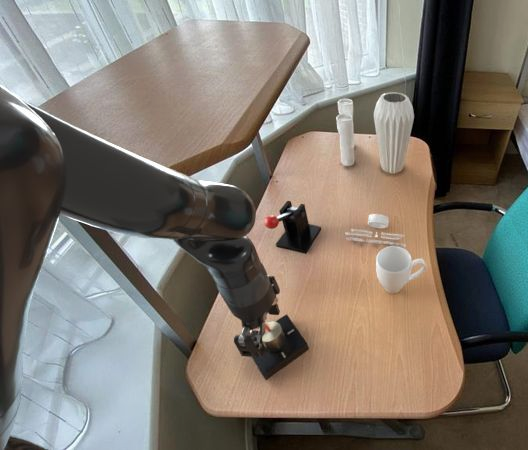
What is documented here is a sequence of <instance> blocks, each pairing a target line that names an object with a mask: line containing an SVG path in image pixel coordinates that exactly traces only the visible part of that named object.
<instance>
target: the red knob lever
mask: <svg viewBox="0 0 528 450" xmlns="http://www.w3.org/2000/svg"><path fill="white" fill-rule="evenodd" d="M297 209H298V207H296V206H293V205H292V207H290V208H288V209H287V213H284V214H282V215H280V214H279V215H277V216H275V215H267V216H266V217H265V219H264V220H263V221H264V223H263V224H264V226H265V227H266V228H267V229H270V230H273V229H276V228H277V227H278V226H279V223H281V222H282V220H285V219H287V218H293V219H294V215H293V214H294V213H295V211H296V210H297Z"/></svg>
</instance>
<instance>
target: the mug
mask: <svg viewBox="0 0 528 450" xmlns="http://www.w3.org/2000/svg"><path fill="white" fill-rule="evenodd" d="M417 265H422V266H421V268H419V269H418V270H416V271H415V272H413V273H412V269H413V268H414V267H415V266H417ZM426 265H427V264H426V262H425V260H424V259H423V258H415V259H413V260H412V256H411V254H410V252H409V251H408V250H407V249H406V248H405V247H403V246H398V245H393V246H392V245H389V246H386V247H383V248H382V249H381V250H379V251H378V253H377V254H376V258H375V271H376V277H377V280H378V282H379V283H380V285H381V286H382V288H383V289H384V290H385V292H386V293H387V294H390V295H391V294H392V295H394V294H398V293H399V292H400V291H401V290H402V289H403V287H405V286H406V284H407V283H408V282H411V281H413V280H414V279H416V278H418V277H420V276H421V275H423V273H425V271H426V268H427V266H426ZM411 273H412V274H411Z"/></svg>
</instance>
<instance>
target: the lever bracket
mask: <svg viewBox="0 0 528 450" xmlns="http://www.w3.org/2000/svg"><path fill="white" fill-rule="evenodd" d="M292 206H293V205H292V201H291V200H286V202H285V203H284V204H283V205H282V207H281V208H280V209H279V210H278V211H279V212H278V213H279V216H280V215H282V214H284V213H287V209H288V208H290V207H292ZM297 208H298V209H297V210H296V211H295V213H294V214H293V215H294V219H293V218H287V219H285V220H282V221H281V222H282V226H283V229H284V232H283V233H282V235H281V236H280V238H279V239H278V241H276V243H275V246H276V248H280V249H284V250H288V251H292V252H296V253H300V254H305V255H307V253H308V252H309V251H310V250H311V247H312V245H314V243H315V241H316V239H317V238H318V237H319V234H320V233H321V231H322V226H320V225H316V224H312V223H309V219H308V215H307V209H306V204H304V203H300V205H299V206H298V207H297Z"/></svg>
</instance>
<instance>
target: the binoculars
mask: <svg viewBox="0 0 528 450" xmlns="http://www.w3.org/2000/svg"><path fill="white" fill-rule="evenodd" d="M337 109H338V115H336V116H335V120H336V128H337V133H338V135H339V136H338V137H339V150H340V161H341V164H342V165H343V166H345V167H350V166H353V165H355V154H354V153H355V152H354V148H355V146H356V145H355V142H356V141H355V133H354V131H355V129H354V101H353V100H352V99H350V98H341V99H339V100H338V101H337Z"/></svg>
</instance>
